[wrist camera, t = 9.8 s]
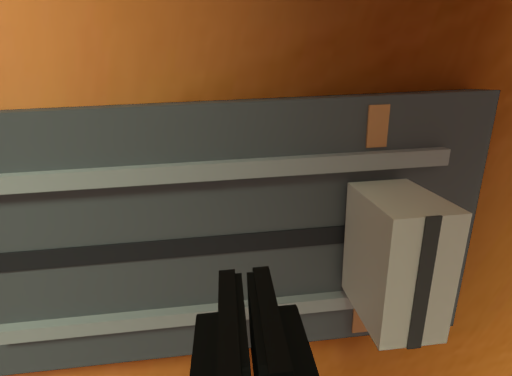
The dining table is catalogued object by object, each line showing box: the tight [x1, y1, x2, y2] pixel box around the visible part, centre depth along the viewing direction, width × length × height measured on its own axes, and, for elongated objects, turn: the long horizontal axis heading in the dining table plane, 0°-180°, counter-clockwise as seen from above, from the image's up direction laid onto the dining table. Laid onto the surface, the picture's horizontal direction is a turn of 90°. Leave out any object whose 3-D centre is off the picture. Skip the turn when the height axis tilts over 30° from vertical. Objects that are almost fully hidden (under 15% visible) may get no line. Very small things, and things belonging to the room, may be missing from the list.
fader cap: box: [342, 179, 472, 351], centre depth 14 cm, size 6×3×4 cm, turn 2°
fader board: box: [0, 89, 500, 376], centre depth 17 cm, size 14×28×3 cm, turn 92°
